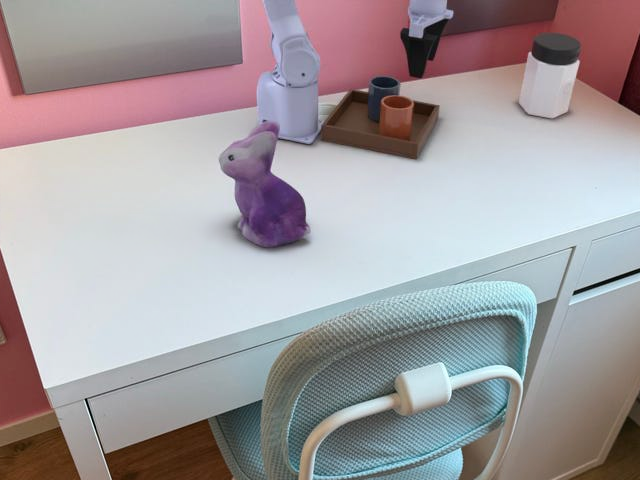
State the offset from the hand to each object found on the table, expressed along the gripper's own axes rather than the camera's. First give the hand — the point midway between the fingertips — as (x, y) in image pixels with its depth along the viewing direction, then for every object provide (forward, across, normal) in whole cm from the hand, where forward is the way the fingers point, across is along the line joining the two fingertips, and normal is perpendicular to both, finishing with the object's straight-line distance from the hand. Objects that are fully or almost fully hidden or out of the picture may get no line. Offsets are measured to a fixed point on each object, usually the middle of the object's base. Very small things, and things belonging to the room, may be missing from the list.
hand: (421, 67), depth 119 cm
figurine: (+10, -40, +11) cm, 43 cm away
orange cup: (+9, -8, +2) cm, 12 cm away
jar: (+10, +15, -20) cm, 27 cm away
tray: (+9, -5, +5) cm, 12 cm away
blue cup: (+9, -2, +6) cm, 11 cm away
